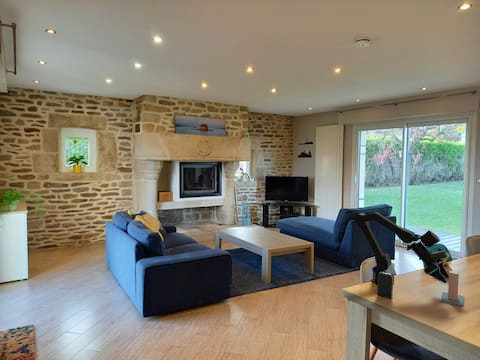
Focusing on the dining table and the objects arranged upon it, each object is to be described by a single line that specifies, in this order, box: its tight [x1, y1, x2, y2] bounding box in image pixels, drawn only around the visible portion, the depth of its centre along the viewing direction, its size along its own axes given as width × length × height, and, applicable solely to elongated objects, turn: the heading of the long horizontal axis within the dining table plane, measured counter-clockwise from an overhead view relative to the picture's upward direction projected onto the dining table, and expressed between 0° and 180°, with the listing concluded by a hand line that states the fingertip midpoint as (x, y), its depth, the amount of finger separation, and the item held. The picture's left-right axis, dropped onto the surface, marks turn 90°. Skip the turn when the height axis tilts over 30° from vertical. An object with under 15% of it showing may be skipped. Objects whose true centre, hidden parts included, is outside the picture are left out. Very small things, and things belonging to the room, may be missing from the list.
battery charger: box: [376, 271, 395, 299], centre depth 159 cm, size 7×4×11 cm, turn 47°
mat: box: [440, 291, 465, 307], centre depth 157 cm, size 13×9×1 cm
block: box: [447, 270, 460, 300], centre depth 156 cm, size 4×4×12 cm
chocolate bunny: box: [441, 252, 453, 278], centre depth 190 cm, size 7×11×15 cm, turn 51°
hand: (447, 280), depth 158 cm, fingers open, 9 cm apart
